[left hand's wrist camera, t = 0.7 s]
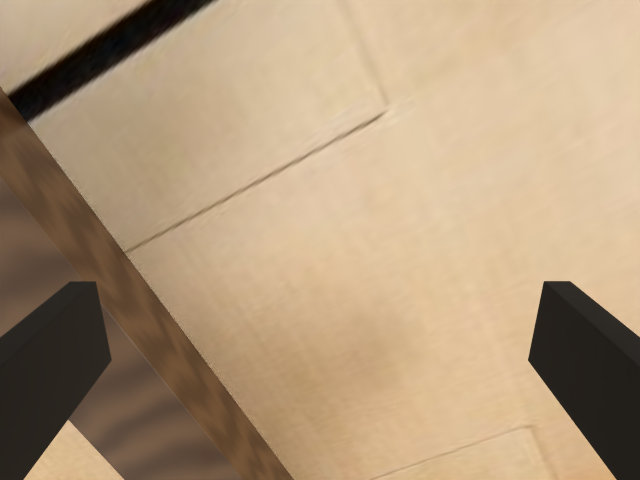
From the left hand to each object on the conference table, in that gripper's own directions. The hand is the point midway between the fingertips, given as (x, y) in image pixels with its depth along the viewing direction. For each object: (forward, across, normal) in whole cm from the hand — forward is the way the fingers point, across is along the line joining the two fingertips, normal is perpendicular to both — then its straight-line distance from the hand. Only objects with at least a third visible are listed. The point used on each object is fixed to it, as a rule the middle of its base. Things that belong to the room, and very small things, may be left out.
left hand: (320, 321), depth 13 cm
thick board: (+25, -18, -17) cm, 36 cm away
